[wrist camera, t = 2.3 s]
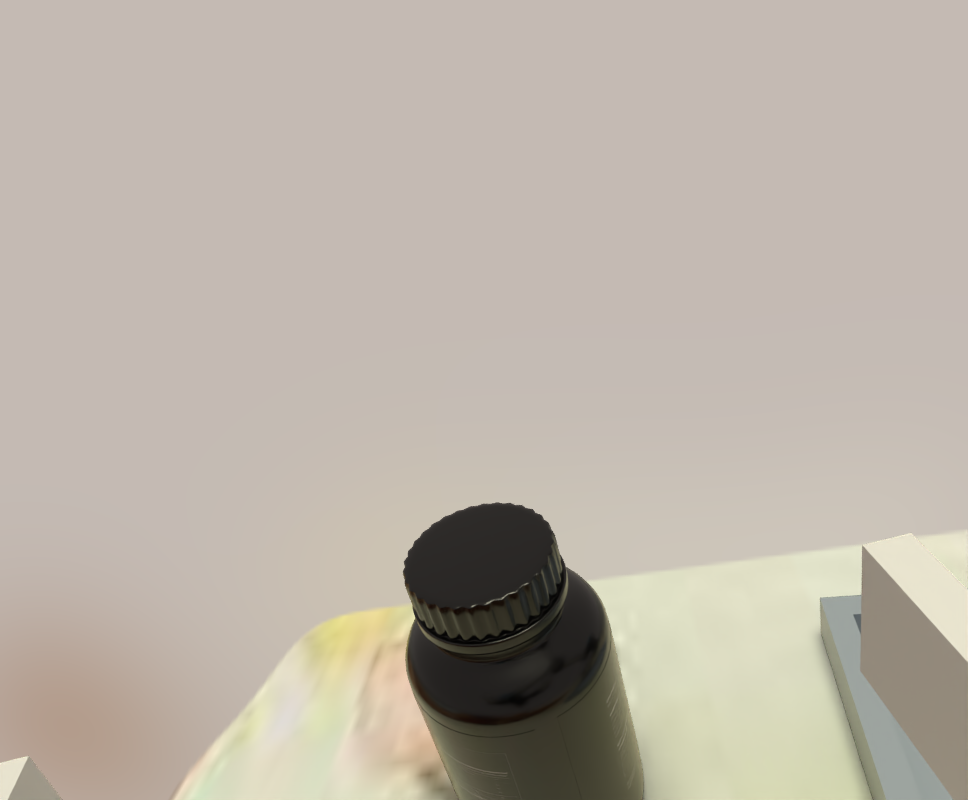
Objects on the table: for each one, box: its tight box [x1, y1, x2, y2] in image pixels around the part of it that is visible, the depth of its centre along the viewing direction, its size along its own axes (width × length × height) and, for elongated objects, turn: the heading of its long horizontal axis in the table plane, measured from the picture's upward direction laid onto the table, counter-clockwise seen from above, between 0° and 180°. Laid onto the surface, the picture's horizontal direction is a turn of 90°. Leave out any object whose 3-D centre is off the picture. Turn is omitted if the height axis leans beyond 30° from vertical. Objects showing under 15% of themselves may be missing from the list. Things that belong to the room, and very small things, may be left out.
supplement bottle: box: [403, 503, 644, 800], centre depth 26 cm, size 7×7×12 cm
